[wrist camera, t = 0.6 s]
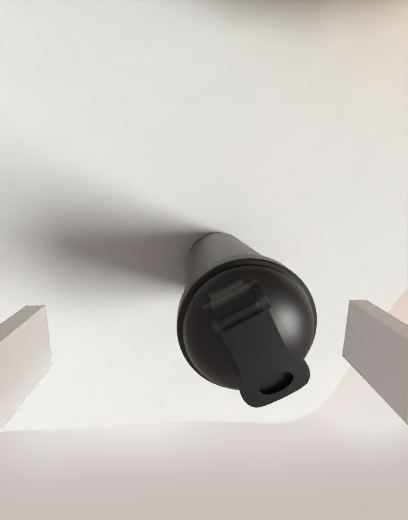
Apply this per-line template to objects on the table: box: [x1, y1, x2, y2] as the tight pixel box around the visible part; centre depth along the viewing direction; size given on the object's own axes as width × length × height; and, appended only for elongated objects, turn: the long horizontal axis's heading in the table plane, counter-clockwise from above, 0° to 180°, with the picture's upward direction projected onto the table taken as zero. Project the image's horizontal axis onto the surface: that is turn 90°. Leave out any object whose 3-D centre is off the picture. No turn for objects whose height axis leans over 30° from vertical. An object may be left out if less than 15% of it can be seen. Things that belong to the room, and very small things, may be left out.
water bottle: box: [177, 233, 317, 408], centre depth 29 cm, size 10×10×23 cm
